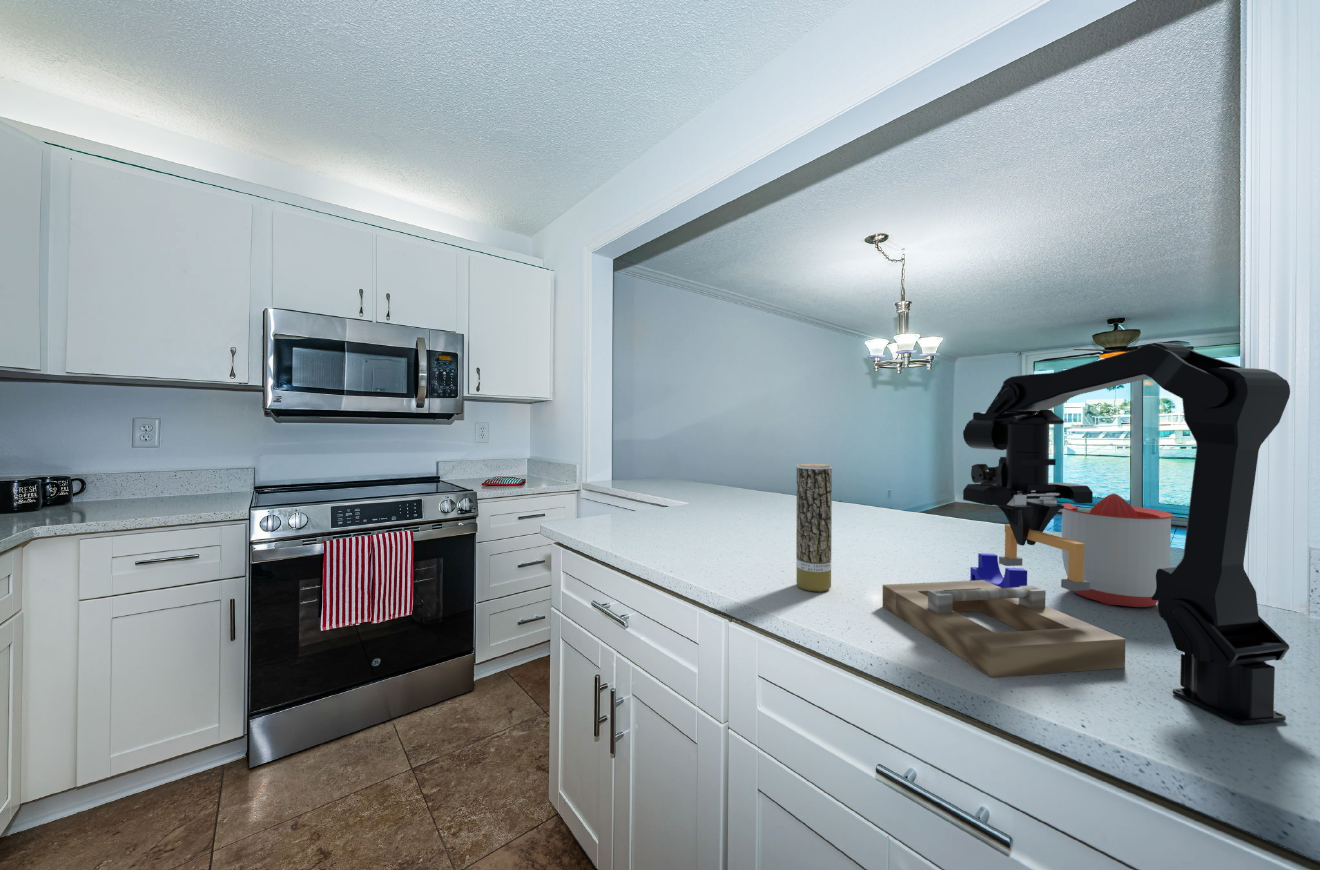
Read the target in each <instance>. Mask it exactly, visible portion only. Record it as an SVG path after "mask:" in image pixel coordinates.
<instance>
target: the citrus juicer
mask: <svg viewBox="0 0 1320 870" xmlns="http://www.w3.org/2000/svg"><path fill="white" fill-rule="evenodd" d="M1061 505H1063V506H1064V509H1061V511H1062V512H1061V515H1062V517H1061V537H1062V538H1065V539H1069V540H1073V541H1076V542H1080V543H1084V544H1085V549H1084V563H1083V580H1085V581H1088V582H1090V590H1078V591H1073V592H1074V593H1076V594H1077V595H1079V596H1082V597H1084V598H1086V599H1090V600H1094V601H1098V602H1100V603H1102V604H1104V605H1107V606H1125V607H1133V608H1149V607H1153V606H1156V604H1157V603H1158V600H1152V599H1151V598H1152V596H1153V595H1154V594H1155V591H1156V572H1157V570H1158V569H1161V568H1171V566H1170V565H1171V539H1172V538H1171V534H1172V530H1171V529H1172V518H1174V515H1173V513H1171V512H1167V511H1164V510H1160V509H1159V510H1158V509H1153V508H1147V507H1139V506H1132V505H1130V503H1128V502H1127V500H1125V499H1124V498H1123V497H1121V496H1120V495H1119V494H1117V493H1110V494H1108V495H1107V496H1105V497H1103V498H1102V499H1101V500H1099V501H1098V502H1097V503H1096V504H1095V505H1094V506H1093V507H1091V510H1090V511H1089V512H1087V511H1083V510H1082V511H1081V510H1079V508H1078V507H1077V506H1075V505H1073V504H1072V503H1063V504H1061ZM1061 558H1062V561H1063V562H1062V563H1063V567H1064V568H1063V569H1064V570H1065V574H1066V576H1067V578H1066V579H1068V562H1069V551H1066V550H1063V549H1061Z"/></svg>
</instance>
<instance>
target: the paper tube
mask: <svg viewBox="0 0 1320 870" xmlns="http://www.w3.org/2000/svg"><path fill="white" fill-rule="evenodd" d="M832 482H833V468H832V464H826V463H825V464H824V463H799V464H796V537H795V538H796V541H795V543H796V544H795V545H796V547H795V548H796V557H795V560H796V562H795V563H796V574H795V575H796V581H795V582H796V584H797V586H798V588H800V589H801V590H804V591H808V592H815V593H816V592H817V593H818V592H819V593H822V592H826V591H828V590H830V588H831V587H832V533H833V532H832V529H833V528H832V521H833V520H832V515H833V513H832V503H833V502H832V501H833V500H832V499H833V498H832V497H833V496H832V493H833V492H832V489H833V487H832V486H833V483H832Z"/></svg>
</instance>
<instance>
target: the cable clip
mask: <svg viewBox="0 0 1320 870" xmlns="http://www.w3.org/2000/svg"><path fill="white" fill-rule="evenodd" d="M977 558H978V559H977V560H978V561H977V562H978V563H977V566H970V572H969V573H970V577H969V579H970V580H969V581H976V580H984V581H986V582H989V583H991V584H994V585H996V586H998V587H1001V588H1016V587H1019V586H1028V570H1027V569H1025V568H1023V567H1005V569H1004V575H1003V574H1002V573H1001V568H1000V564H999V556H998V555H997V554H995V553H983V552H980V553H978V555H977Z"/></svg>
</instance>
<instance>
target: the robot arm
mask: <svg viewBox="0 0 1320 870" xmlns="http://www.w3.org/2000/svg"><path fill="white" fill-rule="evenodd" d="M1149 379H1152V380H1153V381H1154V382H1155V383H1156V384H1157V385H1158V386H1159V387H1160V388H1162V389H1163V390H1164V391H1167V392H1169V393H1171V394H1172V395H1175V396H1176V397H1179V398H1180V399H1181V401H1182V409H1183V418H1184V423H1185V424H1186V426H1187V428H1188V429H1189V431H1190V433H1191V435H1192V437H1193V439H1194V440H1195V444H1196V445H1195V446H1196V450H1195V458H1194V465H1193V473H1192V474H1193V475H1192V483H1191V491H1190V498H1189V499H1190V500H1189V507H1188V513H1187V514H1188V515H1187V525H1186V530H1185V538H1184V539H1185V540H1184V549H1183V554H1182V555H1183V556H1182V559H1181V560H1180V562H1179V563H1178V564H1177V566H1176V567H1175V566H1173V567H1170V568H1161V569H1158V570H1157V572H1156V591H1155V594H1154V595H1153V596H1152V598H1151V599H1152V600H1158V601H1157V603H1156V604H1157V606H1156V607H1157V613H1158V615H1159V617H1160V618H1161V619H1162V620H1163V621H1165V624H1167V625H1166V626H1167V629H1168V630H1169V633H1170V635H1171V638H1172V641H1173V643H1174V646H1175V649H1176V650H1178V651H1180V652H1182V653H1181V654H1180V669H1179V670H1180V678H1179V681H1180V683H1179V684H1180V686H1181V687H1180V688H1172V694H1173V695H1175V696H1177V697H1180V698H1181V699H1184V700H1186V701H1187V702H1190V703H1191V704H1194V705H1195V706H1198V707H1200V708H1202V709H1204V710H1206V711H1208V712H1211V713H1213V714H1214V715H1217V716H1219V717H1221V718H1224V719H1226V720H1227V721H1230V722H1232V723H1234V724H1237V725H1250V724H1252V725H1253V724H1262V723H1276V722H1285V721H1286V719H1287V718H1286V717H1287V716H1286V715H1284V714H1282V713H1280V712H1278V711H1276V710H1275V680H1276V679H1275V678H1276V677H1275V675H1276V674H1275V671H1276V667H1275V666H1274V665H1271V664H1269V663H1267V662H1268V661H1269V662H1270V661H1282V660H1283V658H1284V657H1285V655H1286V654H1287V652H1288V651H1289V649H1290V645H1289V644H1288V643H1287V641H1285V640H1284V638H1282V637H1281V635H1279V634H1278V633H1277V632H1276V631H1275V630H1274V628H1272V626H1271V625H1269V624H1268V623H1267V622H1266V621H1265V620H1264V619H1263V618H1262V617H1261V616H1260V615H1259V607H1258V598H1257V591H1256V589H1255V587H1254V585H1253V584H1252V582H1251V580H1250V577H1249V576H1248V574H1247V572H1246V571H1245V567H1244V566H1245V565H1244V564H1245V563H1244V562H1245V555H1246V554H1245V553H1246V547H1247V540H1248V534H1249V533H1248V532H1249V524H1250V519H1251V513H1252V505H1253V504H1252V503H1253V496H1254V490H1255V488H1254V487H1255V482H1256V481H1255V479H1256V473H1257V467H1258V458H1259V452H1260V451H1259V450H1260V448H1261V446H1262V444H1263V443H1264V442H1265V441H1266V439H1268V437H1269V436H1270V434H1271V433H1273V431H1275V428H1277V426H1278V424H1280V422H1281V419H1282V416H1283V414H1284V411H1285V409H1286V407H1287V404H1288V401H1289V399H1290V394H1291V388H1290V387H1291V385H1290V384H1289V382H1288V380H1287V379H1285V378H1283V376H1280V374H1278V373H1277V372H1275V371H1272V370H1270V369H1264V368H1252V367H1251V368H1248V367H1247V368H1245V367H1242V366H1239V365H1238V364H1235V363H1231V362H1229V361H1225V360H1222V359H1219V358H1215V357H1212V356H1209V355H1206V354H1203V353H1199V352H1197V351H1195V350H1193V349H1190V348H1188V347H1186V346H1184V345H1183V344H1178V343H1165V342H1164V343H1162V342H1152V343H1147V344H1144V345H1142V346H1140V347H1138V348H1135V349H1133V350H1129V351H1126V352H1122V353H1118V354H1116V355H1112V356H1109V357H1105V358H1102V359H1101V358H1100V359H1099V360H1098V359H1097V360H1094V361H1092V362H1088V363H1084V364H1081V365H1076V366H1074V367H1070V368H1067V369H1064V370H1060V371H1059V370H1058V371H1055V372H1049V373H1048V372H1047V373H1033V374H1023V375H1013V376H1009V377H1008V378H1006V379H1004V380H1003V382H1002V385H1001V387H1000V389H999V392H998V393H997V394H996V395H995V397H994V399H993V400H992V401H991V404H990V405H989V406H988V408H987V410H986V411H984V412H981V411H979V412H977V411H975V412H973V414H972V419H970V420H969V421H968V422H967V423H966V425H965V428H964V429H963V431H962V435H963V440H964V442H965V444H966V445H967V446H968V447H970V448H971V449H975V450H977V449H978V450H979V449H980V450H992V451H993V450H994V451H995V450H996V451H1006V452H1005V456H999V459H998V465H997V466H992V467H991V466H990V467H989V466H988V464H987V463H976V464H973V465H971V471H970V472H971V473H970V477H971V481H972V482H973V483H968V484H966V485H965V487H964V488H963V491H962V496H963V497H962V498H963V499H962V500H963V501H968V502H971V503H976V504H981V505H985V506H996V507H998V509H1000V510H1001V512H1003V514H1004V516H1005V518H1006V520H1007V521H1008V523H1009V524H1010V527H1011V529H1012V532H1013V534H1014V537H1015V539H1016V542H1017V546H1018V545H1019V546H1022V547H1023V546H1025V545H1026V544H1027V545H1029V546H1035V544H1036V543H1037V542H1036V541H1032V540H1029V539H1027V536H1028V532H1029V529H1032V530H1036V531H1039V532H1043V533H1044V531H1045V529H1046V528H1047V526H1048V525H1049V524H1050V522H1051V521H1052V520H1053V519H1054V517H1055V516H1056V515H1057V514H1058V513H1059V511H1060V510H1062V509H1064V506H1063V505H1062V504H1058V500H1057V499H1066V500H1070V501H1073V503H1074V504H1093V502H1094V501H1093V500H1094V499H1093V495H1094V494H1093V493H1094V492H1093V490H1092V489H1091V488H1090V487H1089V486H1088V485H1084V484H1077V483H1071V482H1049V480H1050V479H1049V475H1050V472H1049V469H1050V466H1056V462H1057V460H1056V458H1050V425H1064V424H1065V421H1064V419H1063V418H1061V417H1060V416H1058V415H1057V414H1056V413H1054V412H1053V410H1052V409H1053V408H1055V407H1058V406H1060V405H1064V404H1065V403H1066V402H1067V401H1069V400H1070V399H1072V398H1073V397H1074V398H1075V397H1077V396H1080V395H1083V394H1087V393H1092V392H1096V391H1100V390H1104V389H1109V388H1113V387H1114V388H1115V387H1118V386H1121V385H1126V384H1131V383H1134V382H1139V381H1143V380H1149Z"/></svg>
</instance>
